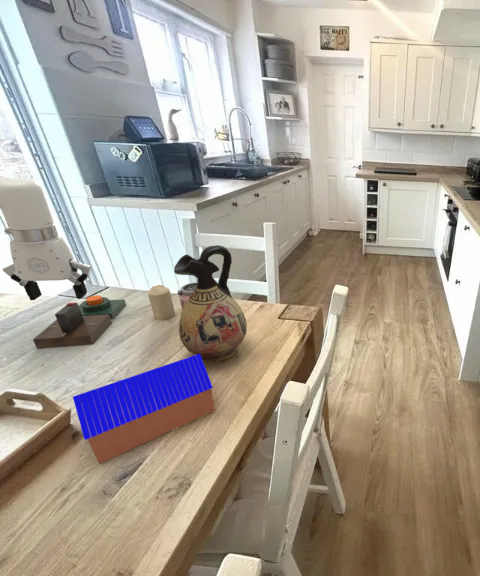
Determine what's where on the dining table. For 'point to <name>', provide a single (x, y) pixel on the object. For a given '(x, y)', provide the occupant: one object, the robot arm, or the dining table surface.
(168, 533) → the dining table surface
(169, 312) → the candle
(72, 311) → the dark grey block
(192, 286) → the pink lidded cup
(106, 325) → the panel
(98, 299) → the button
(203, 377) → the house
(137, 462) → the dining table surface
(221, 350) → the ceramic jug
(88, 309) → the button box
